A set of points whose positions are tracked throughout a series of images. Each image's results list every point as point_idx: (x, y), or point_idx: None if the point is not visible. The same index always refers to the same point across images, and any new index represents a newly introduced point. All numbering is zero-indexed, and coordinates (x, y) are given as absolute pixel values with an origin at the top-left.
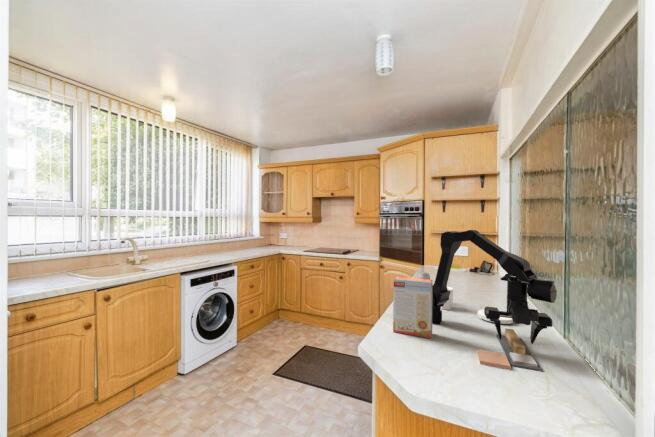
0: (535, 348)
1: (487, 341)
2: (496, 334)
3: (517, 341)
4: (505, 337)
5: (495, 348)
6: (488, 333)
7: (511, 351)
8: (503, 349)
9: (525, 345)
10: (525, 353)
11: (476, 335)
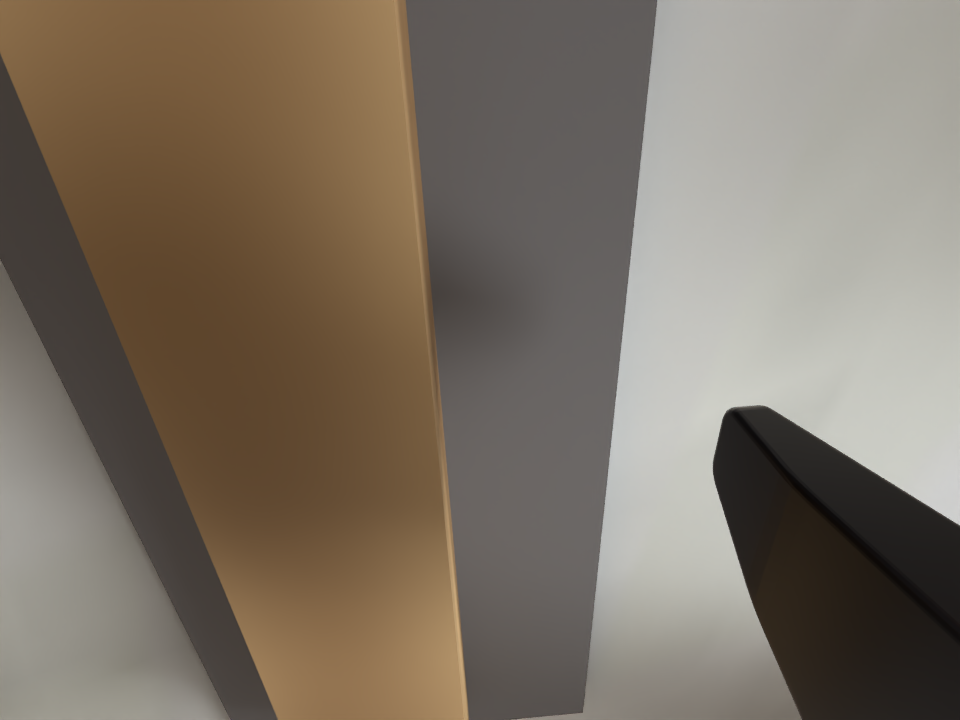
0: (4, 544)
1: None
2: (582, 708)
3: (275, 389)
4: (467, 678)
5: (782, 202)
6: (670, 705)
7: (466, 99)
8: (633, 176)
9: (161, 551)
10: None
11: None
